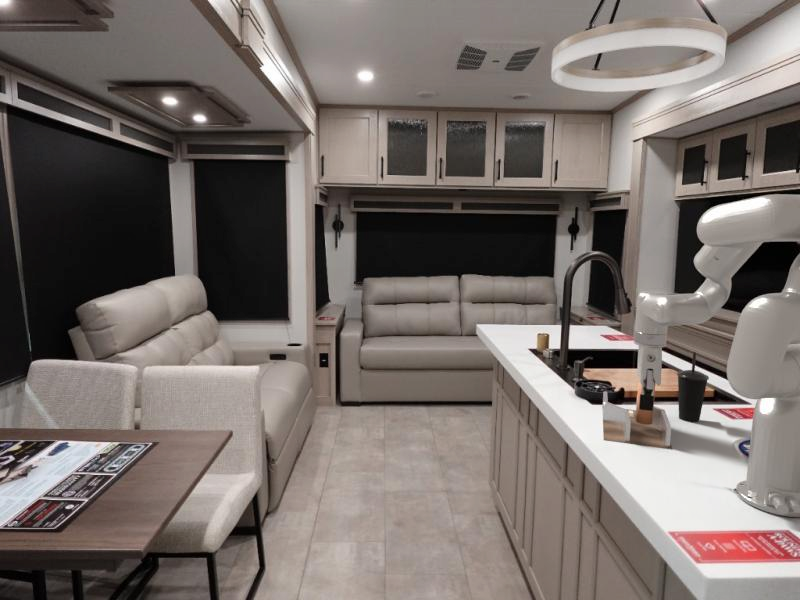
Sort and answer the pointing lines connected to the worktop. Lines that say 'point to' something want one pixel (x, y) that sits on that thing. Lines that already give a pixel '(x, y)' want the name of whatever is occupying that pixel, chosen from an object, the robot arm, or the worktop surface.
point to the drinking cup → (691, 393)
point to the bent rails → (623, 420)
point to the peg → (643, 415)
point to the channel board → (634, 433)
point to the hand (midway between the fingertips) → (645, 406)
